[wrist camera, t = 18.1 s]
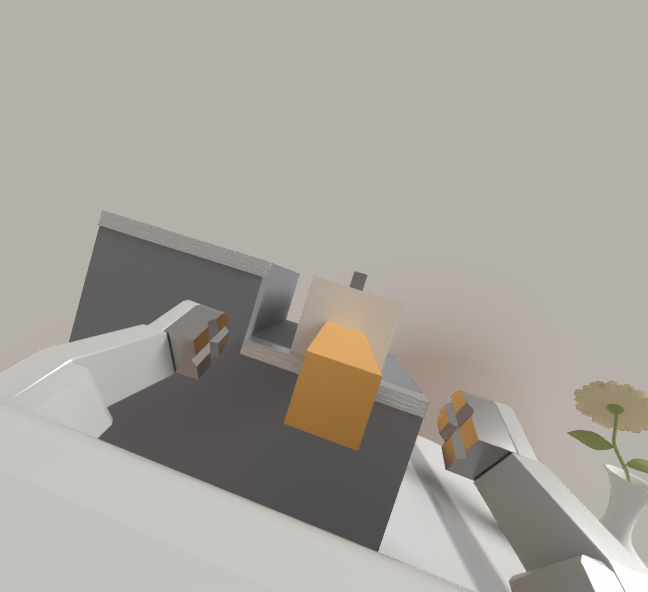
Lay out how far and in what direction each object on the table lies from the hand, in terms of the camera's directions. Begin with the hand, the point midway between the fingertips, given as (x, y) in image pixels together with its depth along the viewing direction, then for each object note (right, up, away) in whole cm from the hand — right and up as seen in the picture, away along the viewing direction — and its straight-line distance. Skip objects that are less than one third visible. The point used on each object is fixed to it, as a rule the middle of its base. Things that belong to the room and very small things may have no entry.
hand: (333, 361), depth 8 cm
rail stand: (-12, -20, +16) cm, 28 cm away
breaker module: (0, -3, +10) cm, 11 cm away
